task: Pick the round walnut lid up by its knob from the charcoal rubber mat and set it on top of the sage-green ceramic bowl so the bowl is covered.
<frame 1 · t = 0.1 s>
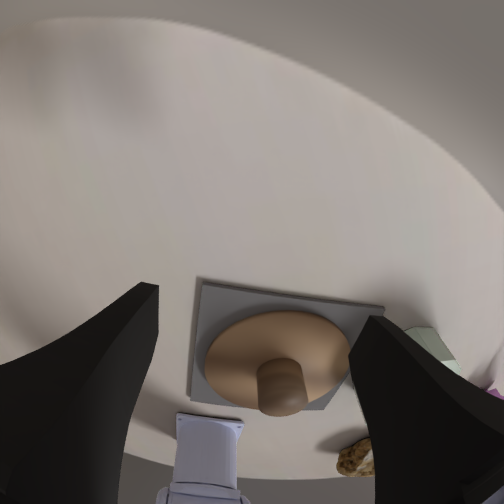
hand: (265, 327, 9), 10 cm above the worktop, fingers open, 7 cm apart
bowl: (398, 365, 25), on the worktop
lid: (278, 366, 23), resting on mat
mat: (277, 363, 23), on the worktop
sponge: (390, 437, 35), on the worktop
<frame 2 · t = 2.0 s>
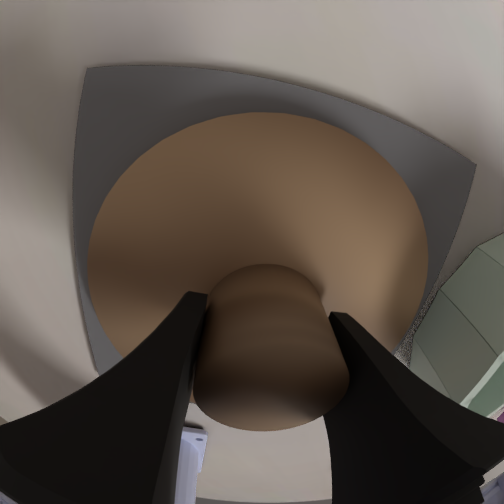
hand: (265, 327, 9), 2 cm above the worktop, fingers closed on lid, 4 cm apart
bowl: (480, 316, 12), on the worktop
lid: (262, 301, 10), resting on mat, touching gripper
mat: (261, 295, 10), on the worktop
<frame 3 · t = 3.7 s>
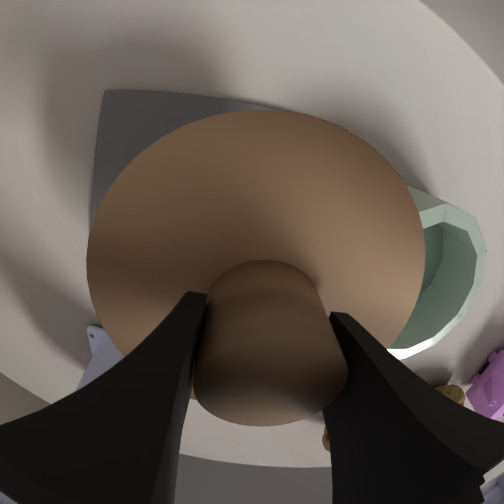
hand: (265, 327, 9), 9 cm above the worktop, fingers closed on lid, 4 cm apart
bowl: (392, 258, 19), on the worktop
lid: (260, 297, 10), point 8 cm above the worktop, touching gripper
mat: (200, 219, 17), on the worktop
teapot: (487, 365, 28), on the worktop
sponge: (396, 401, 28), on the worktop
when the fingers open (7 cm above the worktop, at t = 5.2 s): lid stays where it is, resting on bowl.
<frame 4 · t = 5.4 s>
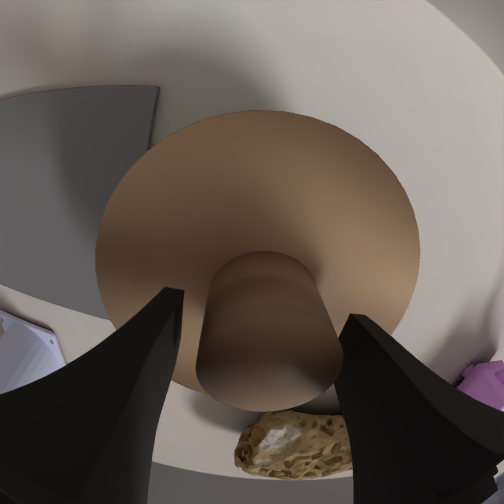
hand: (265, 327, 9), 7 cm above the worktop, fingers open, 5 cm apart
lid: (261, 288, 11), point 5 cm above the worktop, touching bowl
mat: (43, 206, 14), on the worktop
teapot: (462, 380, 25), on the worktop
sponge: (336, 417, 25), on the worktop
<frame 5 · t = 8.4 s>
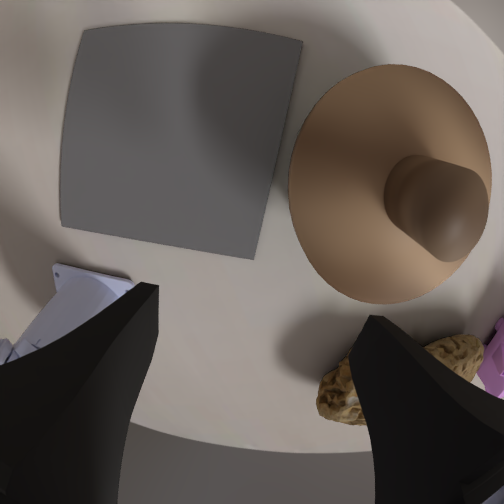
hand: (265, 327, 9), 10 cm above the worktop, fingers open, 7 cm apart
lid: (408, 190, 12), point 5 cm above the worktop, touching bowl
mat: (160, 131, 15), on the worktop
teapot: (494, 336, 26), on the worktop
sponge: (403, 358, 26), on the worktop
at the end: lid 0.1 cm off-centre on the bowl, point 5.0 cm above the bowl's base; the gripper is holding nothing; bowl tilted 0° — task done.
